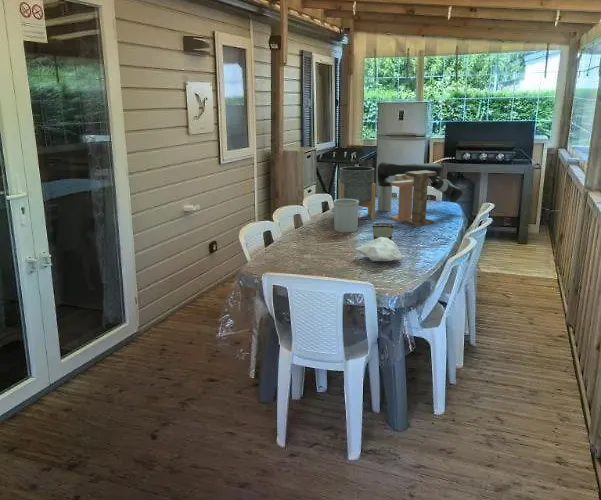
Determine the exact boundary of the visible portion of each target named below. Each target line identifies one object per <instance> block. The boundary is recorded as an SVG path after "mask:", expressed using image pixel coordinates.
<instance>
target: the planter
mask: <svg viewBox="0 0 601 500" xmlns="http://www.w3.org/2000/svg"><path fill="white" fill-rule="evenodd" d="M376 191H377V184H376V183H375V168H374V167H369V166H343V167H339V178H338V199H355V200H358V201H359V204H358V207H364V208H367V215H369V216H370V221H371V222H374V221H375V220H376V194H377V193H376Z"/></svg>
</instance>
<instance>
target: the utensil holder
mask: <svg viewBox="0 0 601 500" xmlns="http://www.w3.org/2000/svg"><path fill="white" fill-rule="evenodd" d="M358 204H359V201H358V200H355V199H337V198H336V199H334V200H333V222H334V223H333V225H334V227H333V229H334V231H335V232H339V233H353V232H357V231H358V223H359V222H358V220H359V206H358Z"/></svg>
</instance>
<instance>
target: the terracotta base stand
mask: <svg viewBox="0 0 601 500" xmlns="http://www.w3.org/2000/svg"><path fill="white" fill-rule="evenodd" d="M390 185H392V187H398V207H397V208H398V210H397V211H398V212H397V215H391V216H388V219H389V220H392V221H395V222H399V223H403V221H406V220H412V207H413V185H414V179H408V180H394V181H392V182H390Z"/></svg>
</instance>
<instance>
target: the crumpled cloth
mask: <svg viewBox="0 0 601 500" xmlns="http://www.w3.org/2000/svg"><path fill="white" fill-rule="evenodd" d="M398 247H399V246H398V245H397V244H396V243H395V242H394V241H393V239H392V240H390V239H389V238H384V237H379V238H377V239H374V238H373V239H371V240H370V241H367V243H366V244H364V245H360V246H357V247H356V248H354V250H355V252H356V253H358V254H360V255H363V256H365V257H367V258H368V259H370V261H372V262H390V261H391V262H392V261H401V260H403V254H402V253H401V251H400V250H399V248H398Z"/></svg>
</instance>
